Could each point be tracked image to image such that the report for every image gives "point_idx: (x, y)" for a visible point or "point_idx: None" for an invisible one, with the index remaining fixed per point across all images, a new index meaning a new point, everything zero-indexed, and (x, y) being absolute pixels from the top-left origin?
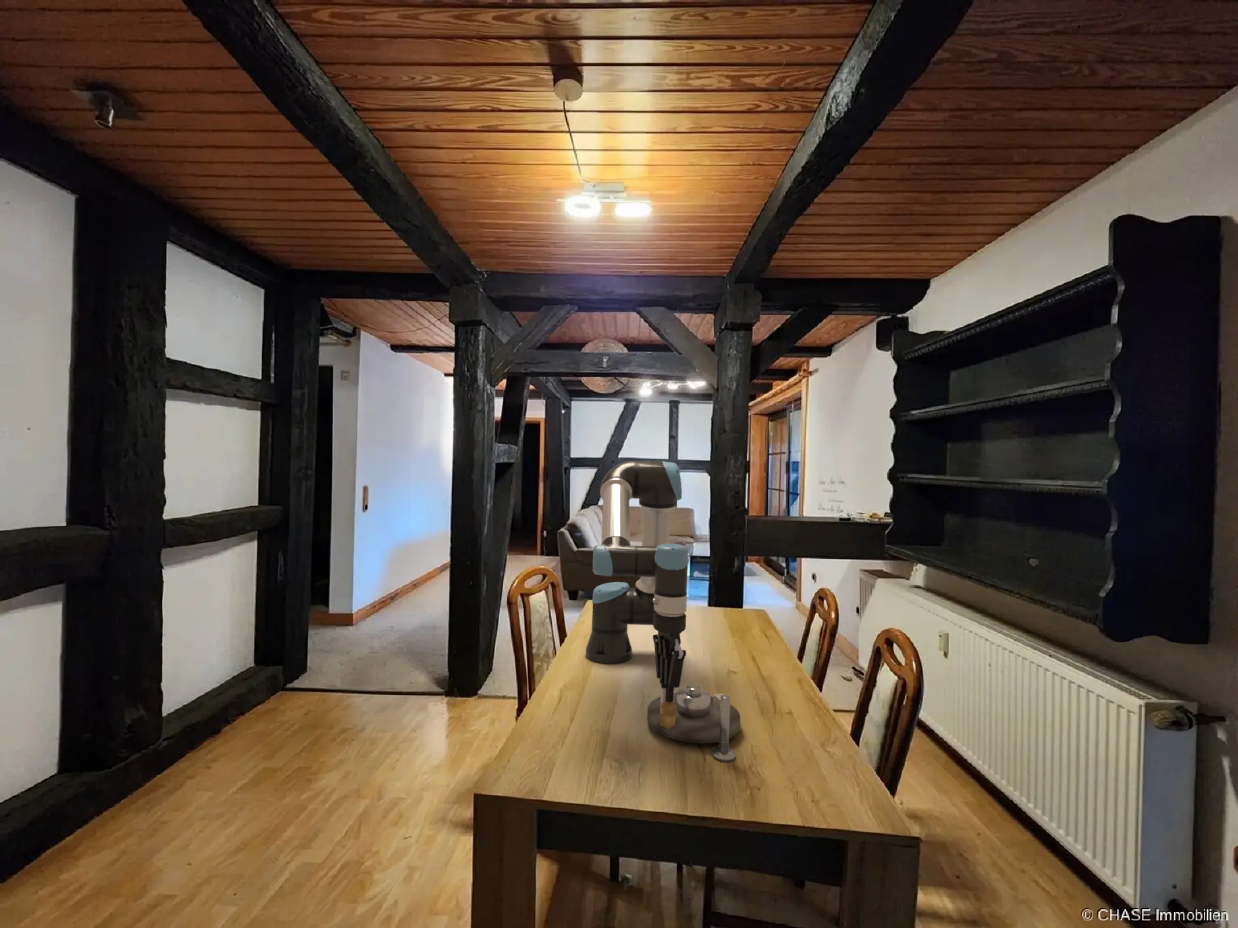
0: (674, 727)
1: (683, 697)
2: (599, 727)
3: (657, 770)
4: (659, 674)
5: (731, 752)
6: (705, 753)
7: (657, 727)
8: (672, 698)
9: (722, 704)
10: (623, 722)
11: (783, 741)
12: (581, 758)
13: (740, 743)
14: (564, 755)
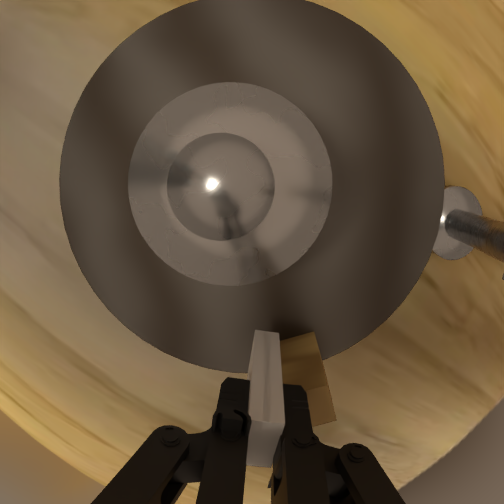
0: (325, 341)
1: (236, 266)
2: (144, 421)
3: (391, 406)
4: (183, 485)
5: (466, 203)
6: None
7: None
8: (306, 401)
9: None
10: (133, 365)
11: (444, 5)
12: (260, 488)
13: None
14: None
